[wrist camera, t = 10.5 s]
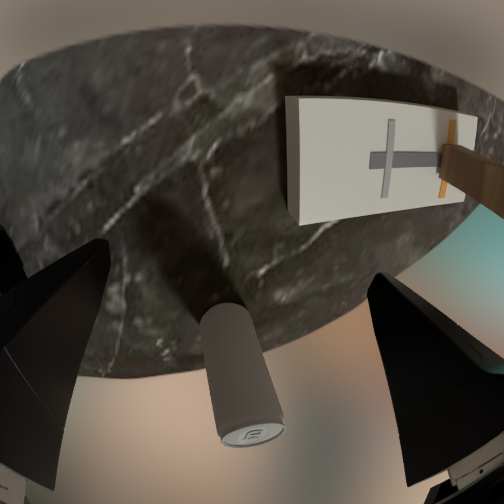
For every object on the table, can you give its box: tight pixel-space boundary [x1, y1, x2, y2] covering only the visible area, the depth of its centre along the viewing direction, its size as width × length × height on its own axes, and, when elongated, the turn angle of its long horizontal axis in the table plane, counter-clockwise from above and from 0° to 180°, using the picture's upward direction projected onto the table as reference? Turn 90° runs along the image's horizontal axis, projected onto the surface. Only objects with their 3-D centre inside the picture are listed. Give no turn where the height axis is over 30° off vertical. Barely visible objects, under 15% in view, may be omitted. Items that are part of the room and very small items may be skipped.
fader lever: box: [438, 144, 504, 219], centre depth 16 cm, size 2×3×10 cm
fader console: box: [285, 96, 478, 226], centre depth 20 cm, size 18×9×3 cm, turn 94°
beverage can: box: [200, 303, 286, 448], centre depth 22 cm, size 5×5×12 cm
